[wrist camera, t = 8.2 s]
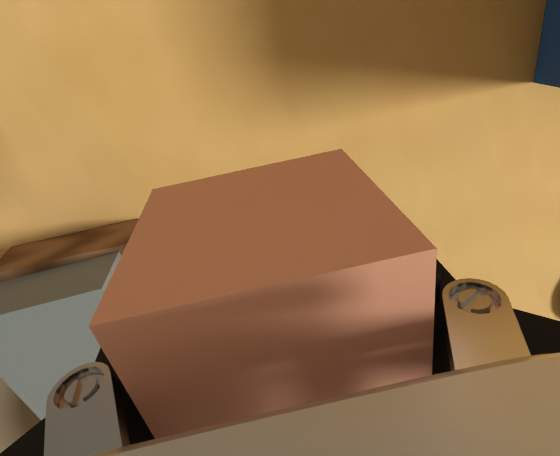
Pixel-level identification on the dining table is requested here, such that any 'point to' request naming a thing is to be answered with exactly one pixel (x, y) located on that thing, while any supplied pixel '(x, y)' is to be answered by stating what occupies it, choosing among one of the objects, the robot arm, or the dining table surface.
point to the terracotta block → (267, 294)
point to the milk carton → (549, 47)
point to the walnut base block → (65, 250)
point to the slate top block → (50, 325)
